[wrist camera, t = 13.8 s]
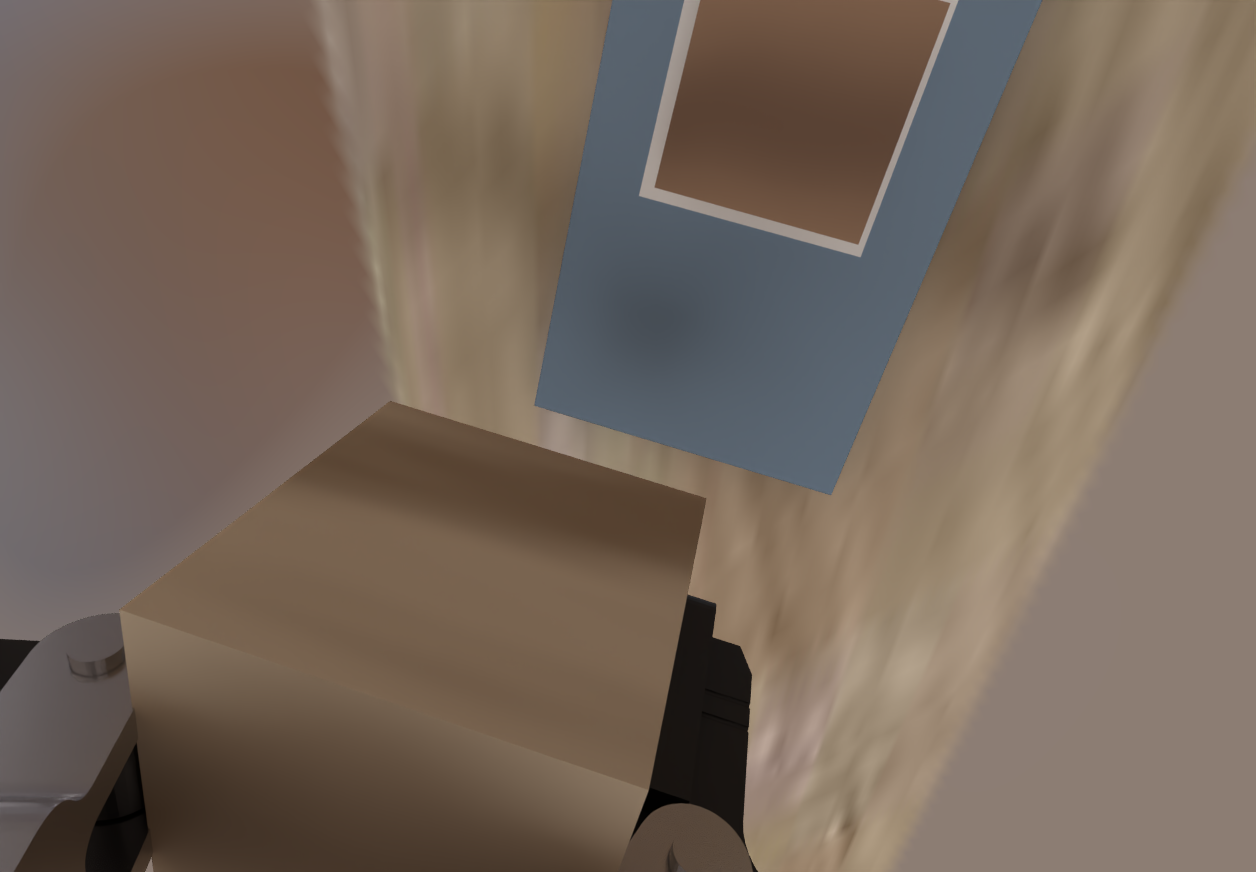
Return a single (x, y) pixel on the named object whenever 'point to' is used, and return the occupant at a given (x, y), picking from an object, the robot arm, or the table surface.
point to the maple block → (414, 662)
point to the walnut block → (797, 106)
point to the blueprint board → (751, 262)
